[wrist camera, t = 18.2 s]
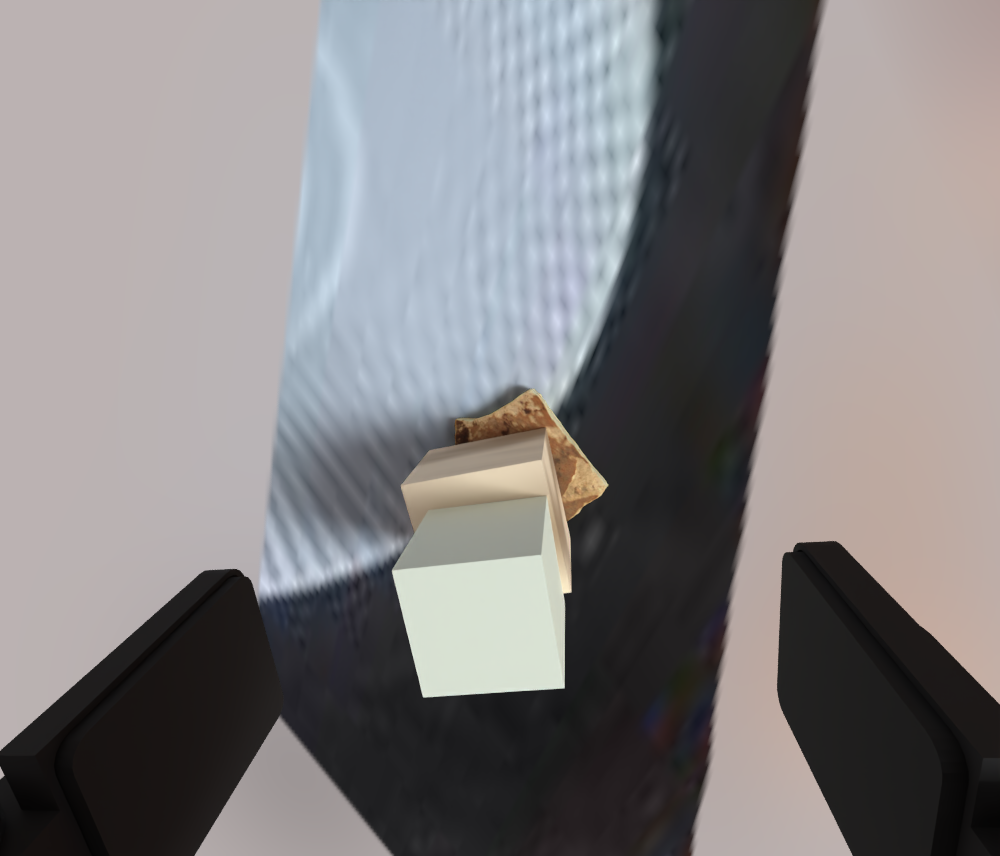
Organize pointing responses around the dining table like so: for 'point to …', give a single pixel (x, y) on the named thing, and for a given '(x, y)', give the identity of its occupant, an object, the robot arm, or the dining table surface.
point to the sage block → (484, 599)
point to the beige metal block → (491, 482)
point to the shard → (570, 463)
